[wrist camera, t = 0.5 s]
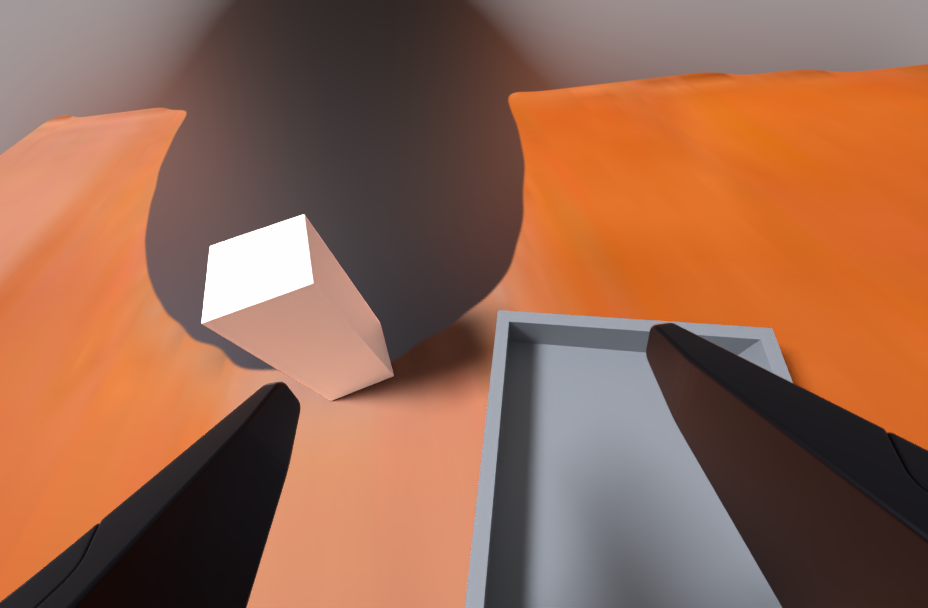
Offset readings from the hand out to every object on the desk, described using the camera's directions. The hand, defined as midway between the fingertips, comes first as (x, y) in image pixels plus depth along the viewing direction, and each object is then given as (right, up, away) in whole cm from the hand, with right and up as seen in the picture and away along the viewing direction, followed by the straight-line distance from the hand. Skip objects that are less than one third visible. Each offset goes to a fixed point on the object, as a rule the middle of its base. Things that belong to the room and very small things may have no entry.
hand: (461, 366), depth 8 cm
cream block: (-8, -3, +18) cm, 20 cm away
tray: (+9, -9, +11) cm, 17 cm away
